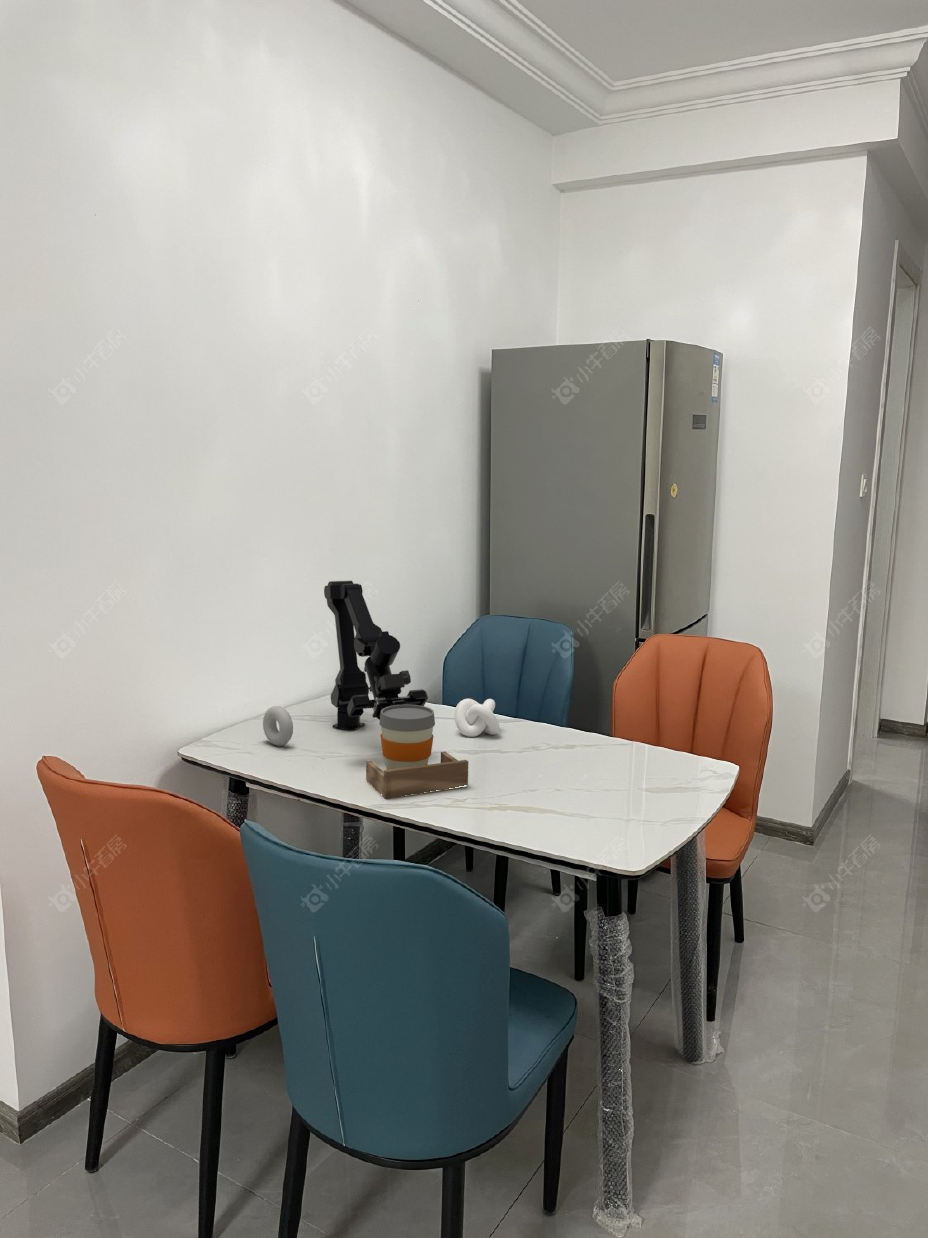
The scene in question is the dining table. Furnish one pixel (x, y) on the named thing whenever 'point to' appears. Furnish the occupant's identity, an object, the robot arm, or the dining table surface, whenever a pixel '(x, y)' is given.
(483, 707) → the white knot
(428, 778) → the holder
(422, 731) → the reusable coffee cup
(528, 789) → the dining table surface
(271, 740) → the donut
